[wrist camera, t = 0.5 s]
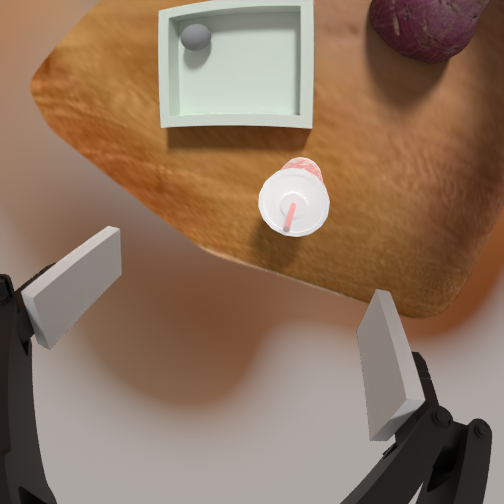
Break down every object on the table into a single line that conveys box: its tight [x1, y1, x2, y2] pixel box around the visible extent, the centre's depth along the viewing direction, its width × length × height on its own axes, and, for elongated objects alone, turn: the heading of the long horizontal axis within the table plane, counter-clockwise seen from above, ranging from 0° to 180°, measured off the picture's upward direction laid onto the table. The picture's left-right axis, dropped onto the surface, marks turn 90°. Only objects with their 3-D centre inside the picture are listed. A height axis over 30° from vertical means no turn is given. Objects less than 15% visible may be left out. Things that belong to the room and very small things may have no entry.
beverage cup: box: [259, 157, 330, 237], centre depth 27 cm, size 6×6×14 cm
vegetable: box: [370, 0, 490, 63], centre depth 15 cm, size 10×10×15 cm
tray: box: [158, 0, 315, 129], centre depth 26 cm, size 16×14×4 cm
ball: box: [181, 24, 211, 51], centre depth 25 cm, size 3×3×3 cm
